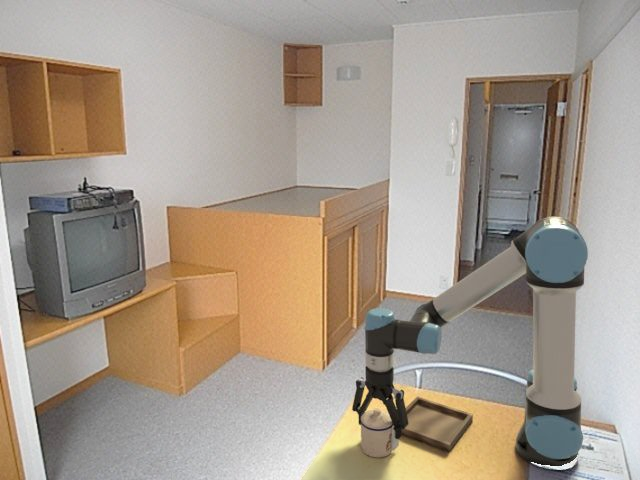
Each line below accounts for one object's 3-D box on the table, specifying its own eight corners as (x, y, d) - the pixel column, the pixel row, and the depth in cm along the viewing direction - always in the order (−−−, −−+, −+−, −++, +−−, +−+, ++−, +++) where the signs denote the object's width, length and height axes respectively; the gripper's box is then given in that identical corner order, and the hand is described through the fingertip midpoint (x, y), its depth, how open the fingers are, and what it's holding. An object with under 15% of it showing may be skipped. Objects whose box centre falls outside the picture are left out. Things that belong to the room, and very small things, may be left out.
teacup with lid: (393, 460, 127) (394, 420, 125) (359, 457, 129) (359, 418, 126) (393, 433, 139) (394, 396, 136) (362, 431, 140) (362, 394, 138)
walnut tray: (472, 421, 144) (472, 414, 143) (449, 453, 130) (449, 444, 129) (417, 403, 154) (417, 396, 154) (390, 430, 140) (390, 423, 140)
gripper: (338, 361, 132) (339, 434, 136) (410, 382, 119) (408, 463, 124) (353, 351, 138) (353, 422, 142) (423, 371, 125) (421, 448, 130)
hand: (379, 441), depth 133 cm, fingers closed on teacup with lid, 9 cm apart
